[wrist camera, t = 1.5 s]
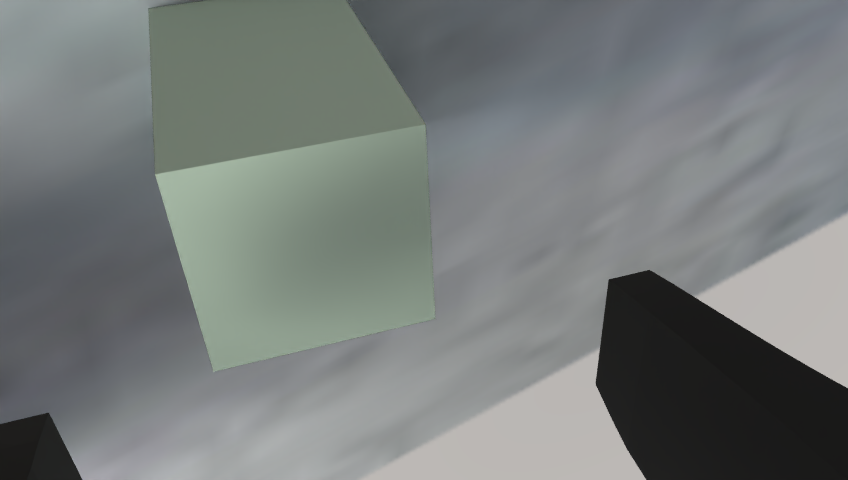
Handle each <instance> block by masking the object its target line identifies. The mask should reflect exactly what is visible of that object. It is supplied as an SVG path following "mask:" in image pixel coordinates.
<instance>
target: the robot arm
mask: <svg viewBox="0 0 848 480" xmlns="http://www.w3.org/2000/svg"><path fill="white" fill-rule="evenodd" d="M596 386H597V388H598V390H599V392H600V394H601V397H602V399H603V401H604V403H605V405H606V407H607V409H608V412H609V414H610V416H611V418H612V420H613V422H614V424H615V426H616V428H617V430H618V432H619V434H620V436H621V438H622V440H623V442H624V444H625V446H626V448H627V450H628V451H629V453H630V455H631V456H632V458H633V459H634V461H635V462H636V464H637V466H638V467H639V469H640V470H641V472H642V473H643V475H644V477H645V478H646V480H848V388H846V387H844V386H842V385H841V384H839V383H837V382H835V381H833V380H831V379H830V378H828V377H826V376H824V375H823V374H821V373H819V372H817V371H816V370H814V369H812V368H810V367H808V366H807V365H805V364H803V363H802V362H800V361H798V360H796V359H795V358H793V357H791V356H790V355H788V354H786V353H784V352H783V351H781V350H779V349H778V348H776V347H775V346H773V345H771V344H769V343H768V342H766V341H764V340H763V339H761V338H760V337H758V336H756V335H755V334H753V333H751V332H750V331H748V330H746V329H745V328H743V327H741V326H740V325H738V324H737V323H735V322H734V321H732V320H730V319H729V318H727V317H725V316H724V315H722V314H721V313H719V312H717V311H716V310H714V309H712V308H711V307H709V306H708V305H706V304H704V303H703V302H701V301H699V300H698V299H697V298H695V297H693V296H692V295H690V294H689V293H687V292H685V291H684V290H682V289H680V288H679V287H677V286H676V285H674V284H672V283H671V282H669V281H667V280H666V279H664V278H662V277H661V276H659V275H657V274H655V273H654V272H652V271H650V270H647V271H643V272H639V273H634V274H630V275H626V276H622V277H618V278H613V279H609V281H608V289H607V297H606V305H605V313H604V321H603V329H602V337H601V345H600V353H599V361H598V369H597V377H596ZM0 480H82V478H81V476H80V474H79V472H78V470H77V468H76V466H75V464H74V462H73V460H72V458H71V456H70V454H69V452H68V450H67V448H66V446H65V444H64V442H63V440H62V438H61V436H60V434H59V432H58V430H57V428H56V426H55V424H54V422H53V420H52V418H51V416H50V414H49V413H45V414H41V415H37V416H33V417H29V418H24V419H20V420H16V421H12V422H8V423H3V424H0Z"/></svg>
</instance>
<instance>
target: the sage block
mask: <svg viewBox="0 0 848 480" xmlns="http://www.w3.org/2000/svg"><path fill="white" fill-rule="evenodd" d="M148 10H149V35H150V60H151V86H152V111H153V137H154V162H155V176H156V180H157V183H158V186H159V190H160V193H161V196H162V200H163V203H164V207H165V210H166V213H167V217H168V220H169V223H170V227H171V230H172V233H173V237H174V240H175V244H176V247H177V250H178V254H179V257H180V260H181V264H182V267H183V271H184V274H185V277H186V281H187V284H188V287H189V291H190V294H191V298H192V301H193V304H194V308H195V311H196V314H197V318H198V321H199V325H200V328H201V331H202V335H203V338H204V341H205V345H206V348H207V351H208V355H209V358H210V362H211V365H212V368H213V372H215V371H219V370H223V369H228V368H232V367H236V366H240V365H244V364H249V363H253V362H257V361H261V360H265V359H270V358H274V357H278V356H282V355H286V354H291V353H295V352H299V351H303V350H307V349H312V348H316V347H320V346H324V345H328V344H333V343H337V342H341V341H345V340H349V339H354V338H358V337H362V336H366V335H370V334H375V333H379V332H383V331H387V330H391V329H396V328H400V327H404V326H408V325H412V324H417V323H421V322H425V321H429V320H433V319H435V302H434V282H433V262H432V242H431V222H430V202H429V182H428V162H427V142H426V124H425V123H424V121H423V120H422V118H421V116H420V115H419V113H418V112H417V110H416V109H415V107H414V105H413V104H412V102H411V101H410V99H409V98H408V96H407V95H406V93H405V91H404V90H403V88H402V87H401V85H400V84H399V82H398V80H397V79H396V77H395V76H394V74H393V73H392V71H391V69H390V68H389V66H388V65H387V63H386V62H385V60H384V59H383V57H382V55H381V54H380V52H379V51H378V49H377V48H376V46H375V44H374V43H373V41H372V40H371V38H370V37H369V35H368V34H367V32H366V30H365V29H364V27H363V26H362V24H361V23H360V21H359V19H358V18H357V16H356V15H355V13H354V12H353V10H352V8H351V7H350V5H349V4H348V2H347V1H346V0H205V1H198V2H191V3H184V4H177V5H170V6H163V7H156V8H149V9H148Z"/></svg>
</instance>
